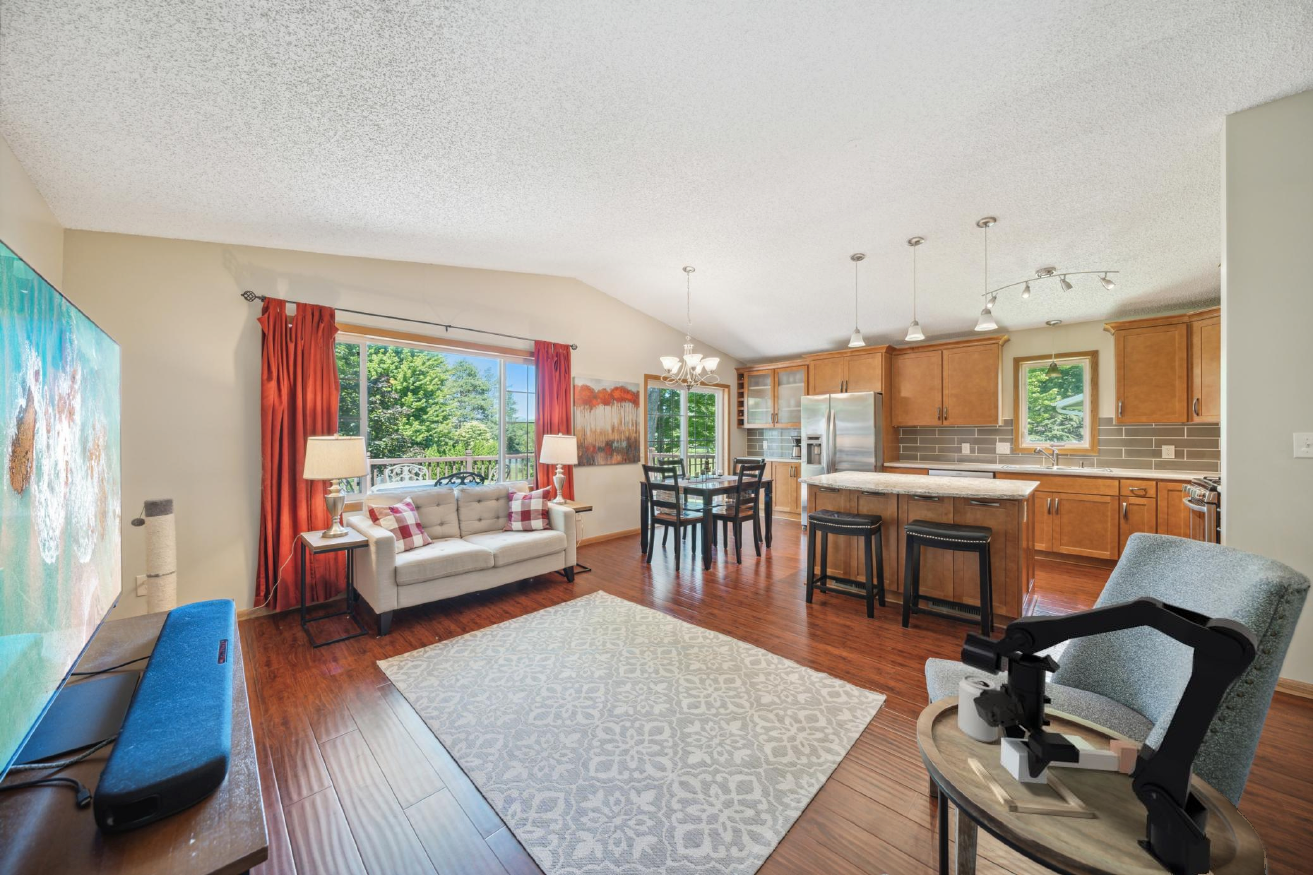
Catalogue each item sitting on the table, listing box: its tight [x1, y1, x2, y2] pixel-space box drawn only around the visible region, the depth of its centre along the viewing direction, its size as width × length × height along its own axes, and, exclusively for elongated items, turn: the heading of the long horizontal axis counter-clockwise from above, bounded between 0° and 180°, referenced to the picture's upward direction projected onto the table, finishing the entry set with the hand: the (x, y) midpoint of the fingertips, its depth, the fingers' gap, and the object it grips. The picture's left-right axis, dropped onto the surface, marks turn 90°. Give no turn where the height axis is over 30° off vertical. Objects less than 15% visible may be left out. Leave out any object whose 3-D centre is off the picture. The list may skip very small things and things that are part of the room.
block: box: [1000, 737, 1048, 784], centre depth 90 cm, size 5×5×5 cm
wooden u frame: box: [967, 757, 1094, 819], centre depth 89 cm, size 12×14×1 cm
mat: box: [1061, 734, 1097, 750], centre depth 102 cm, size 9×9×1 cm
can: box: [957, 674, 999, 743], centre depth 106 cm, size 8×8×12 cm
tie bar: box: [1047, 739, 1138, 774], centre depth 96 cm, size 2×20×5 cm, turn 86°
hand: (1023, 767), depth 90 cm, fingers closed on block, 5 cm apart
